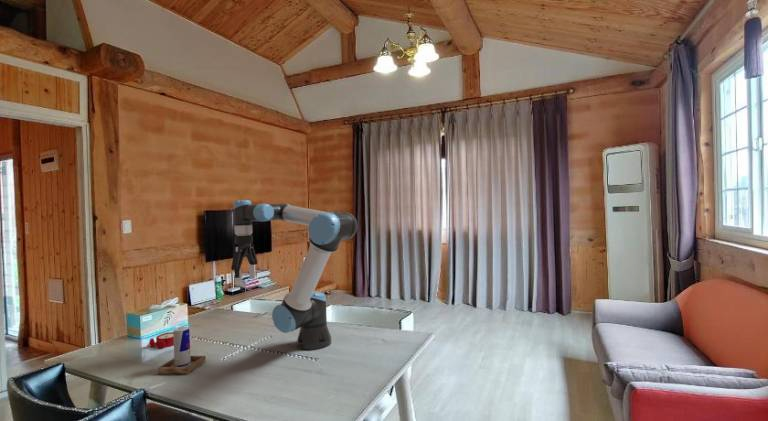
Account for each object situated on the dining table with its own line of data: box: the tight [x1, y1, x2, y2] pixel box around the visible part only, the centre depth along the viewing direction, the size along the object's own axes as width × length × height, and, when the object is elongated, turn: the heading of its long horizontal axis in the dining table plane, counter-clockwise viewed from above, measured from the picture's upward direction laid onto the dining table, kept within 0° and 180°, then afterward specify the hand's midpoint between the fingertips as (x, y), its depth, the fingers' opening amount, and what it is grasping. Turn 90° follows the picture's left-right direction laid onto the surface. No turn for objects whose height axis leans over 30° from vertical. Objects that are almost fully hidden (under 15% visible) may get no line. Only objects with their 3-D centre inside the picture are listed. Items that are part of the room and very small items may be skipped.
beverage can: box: [172, 325, 191, 367], centre depth 149 cm, size 6×6×15 cm
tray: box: [157, 355, 207, 376], centre depth 149 cm, size 12×12×2 cm
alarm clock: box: [146, 331, 174, 350], centre depth 176 cm, size 10×6×15 cm
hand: (245, 281), depth 171 cm, fingers open, 13 cm apart
